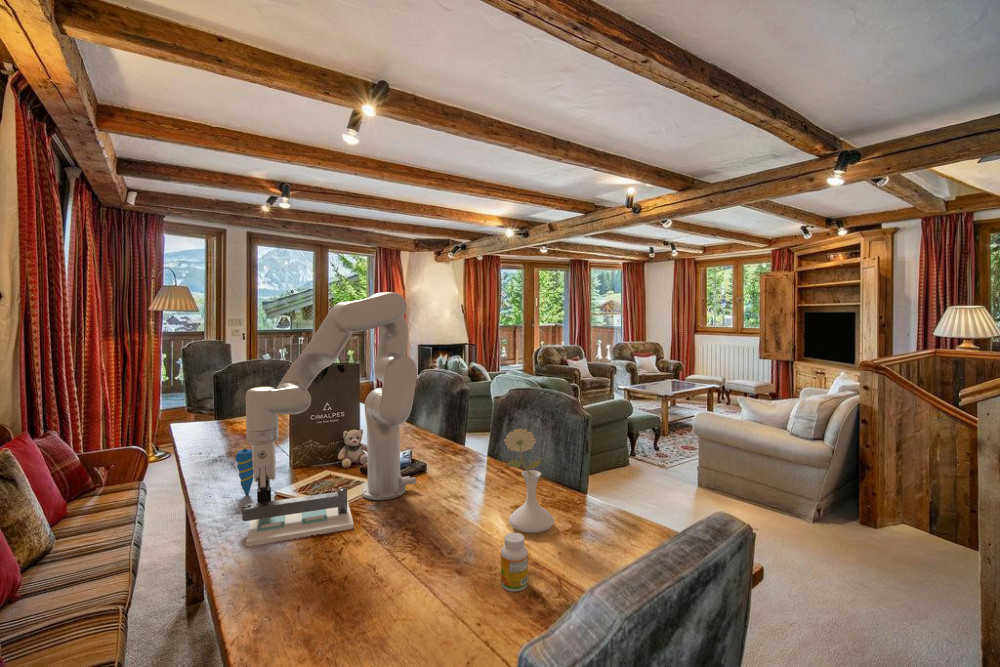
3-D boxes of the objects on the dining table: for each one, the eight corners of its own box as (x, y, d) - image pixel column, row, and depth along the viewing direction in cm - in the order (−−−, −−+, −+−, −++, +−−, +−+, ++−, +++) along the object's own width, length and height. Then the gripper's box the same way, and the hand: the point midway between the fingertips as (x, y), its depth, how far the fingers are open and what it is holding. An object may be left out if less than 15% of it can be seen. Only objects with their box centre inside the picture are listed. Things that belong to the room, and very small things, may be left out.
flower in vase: (558, 520, 125) (558, 426, 124) (548, 540, 114) (548, 437, 113) (510, 513, 129) (510, 422, 128) (496, 532, 118) (496, 432, 117)
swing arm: (346, 508, 129) (346, 486, 128) (347, 513, 126) (347, 490, 125) (243, 524, 119) (242, 501, 119) (241, 529, 116) (241, 505, 116)
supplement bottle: (499, 577, 98) (499, 531, 98) (525, 576, 99) (525, 530, 98) (502, 593, 93) (502, 544, 92) (529, 591, 93) (529, 543, 93)
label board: (347, 504, 135) (347, 498, 135) (353, 528, 120) (353, 521, 120) (252, 519, 126) (252, 512, 125) (246, 546, 111) (246, 539, 111)
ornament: (247, 499, 139) (246, 448, 138) (232, 497, 140) (231, 447, 139) (260, 492, 144) (259, 443, 143) (245, 491, 145) (244, 442, 144)
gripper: (278, 440, 119) (279, 512, 120) (279, 427, 133) (280, 491, 134) (244, 443, 116) (246, 517, 117) (248, 429, 130) (250, 496, 131)
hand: (264, 503), depth 125 cm, fingers closed
